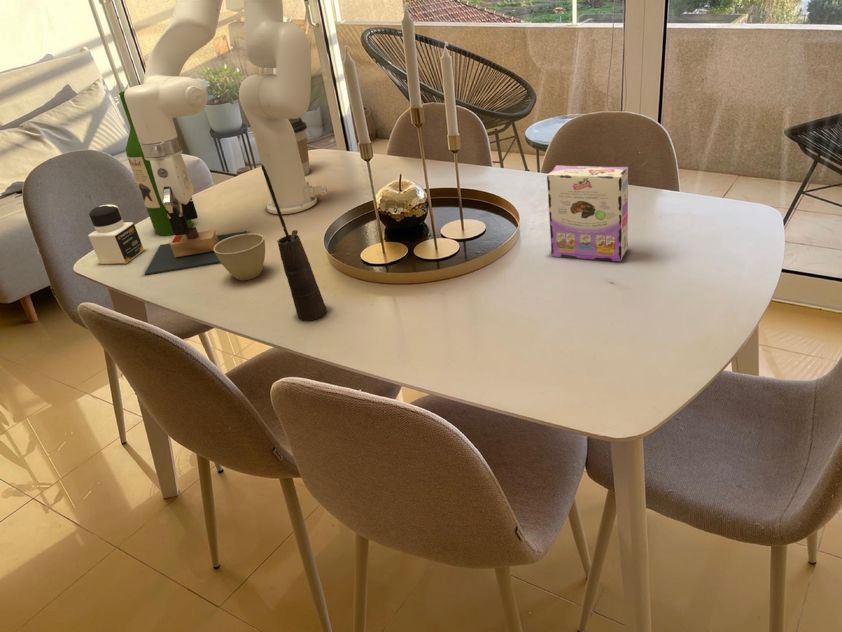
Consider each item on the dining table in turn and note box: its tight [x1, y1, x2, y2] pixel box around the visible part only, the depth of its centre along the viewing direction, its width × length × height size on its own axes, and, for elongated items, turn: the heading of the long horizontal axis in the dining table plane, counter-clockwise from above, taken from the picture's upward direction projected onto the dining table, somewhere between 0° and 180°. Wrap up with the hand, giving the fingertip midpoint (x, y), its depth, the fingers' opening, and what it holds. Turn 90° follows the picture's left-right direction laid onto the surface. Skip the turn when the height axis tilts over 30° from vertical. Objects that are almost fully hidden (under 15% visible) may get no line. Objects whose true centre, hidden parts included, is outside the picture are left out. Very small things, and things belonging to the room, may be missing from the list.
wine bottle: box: [118, 90, 193, 237], centre depth 163 cm, size 9×9×32 cm
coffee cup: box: [288, 117, 311, 176], centre depth 195 cm, size 11×11×15 cm
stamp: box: [169, 226, 219, 258], centre depth 154 cm, size 9×5×5 cm, turn 99°
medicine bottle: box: [87, 204, 145, 265], centre depth 155 cm, size 7×7×12 cm
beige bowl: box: [214, 233, 266, 281], centre depth 141 cm, size 10×10×7 cm
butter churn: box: [261, 164, 328, 322], centre depth 118 cm, size 9×10×28 cm
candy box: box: [546, 165, 629, 262], centre depth 129 cm, size 14×6×16 cm, turn 65°
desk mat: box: [144, 230, 248, 276], centre depth 156 cm, size 20×16×1 cm
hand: (186, 226), depth 152 cm, fingers open, 9 cm apart
